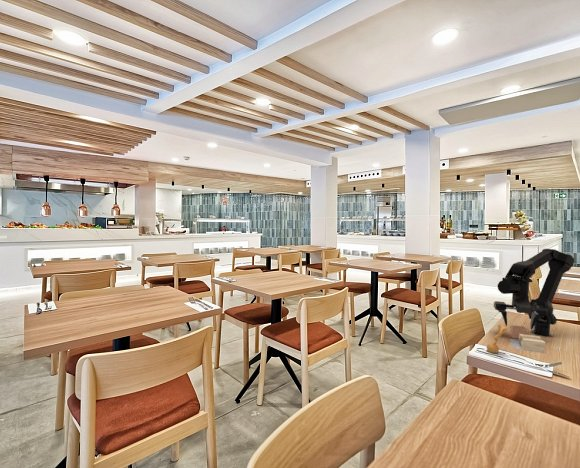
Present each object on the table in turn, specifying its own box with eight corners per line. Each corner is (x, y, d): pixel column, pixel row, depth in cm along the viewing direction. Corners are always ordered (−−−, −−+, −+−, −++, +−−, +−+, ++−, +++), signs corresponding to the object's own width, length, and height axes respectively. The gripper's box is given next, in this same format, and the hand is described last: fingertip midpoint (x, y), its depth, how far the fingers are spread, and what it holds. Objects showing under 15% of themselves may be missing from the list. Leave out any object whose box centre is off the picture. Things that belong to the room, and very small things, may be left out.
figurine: (488, 348, 129) (490, 319, 128) (506, 352, 125) (508, 322, 124) (484, 355, 122) (486, 324, 122) (503, 359, 118) (504, 328, 118)
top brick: (509, 335, 144) (510, 324, 143) (523, 337, 142) (523, 326, 141) (512, 339, 139) (512, 328, 139) (526, 341, 137) (526, 329, 137)
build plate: (508, 339, 138) (509, 338, 138) (537, 343, 134) (537, 342, 134) (515, 350, 127) (515, 348, 127) (546, 354, 123) (546, 353, 123)
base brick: (518, 343, 133) (518, 333, 133) (539, 346, 130) (539, 336, 130) (522, 349, 127) (523, 339, 127) (544, 352, 124) (545, 342, 124)
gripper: (498, 293, 136) (497, 329, 137) (553, 299, 128) (551, 337, 129) (494, 288, 146) (492, 322, 147) (544, 293, 138) (542, 328, 139)
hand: (518, 327), depth 140 cm, fingers open, 9 cm apart
